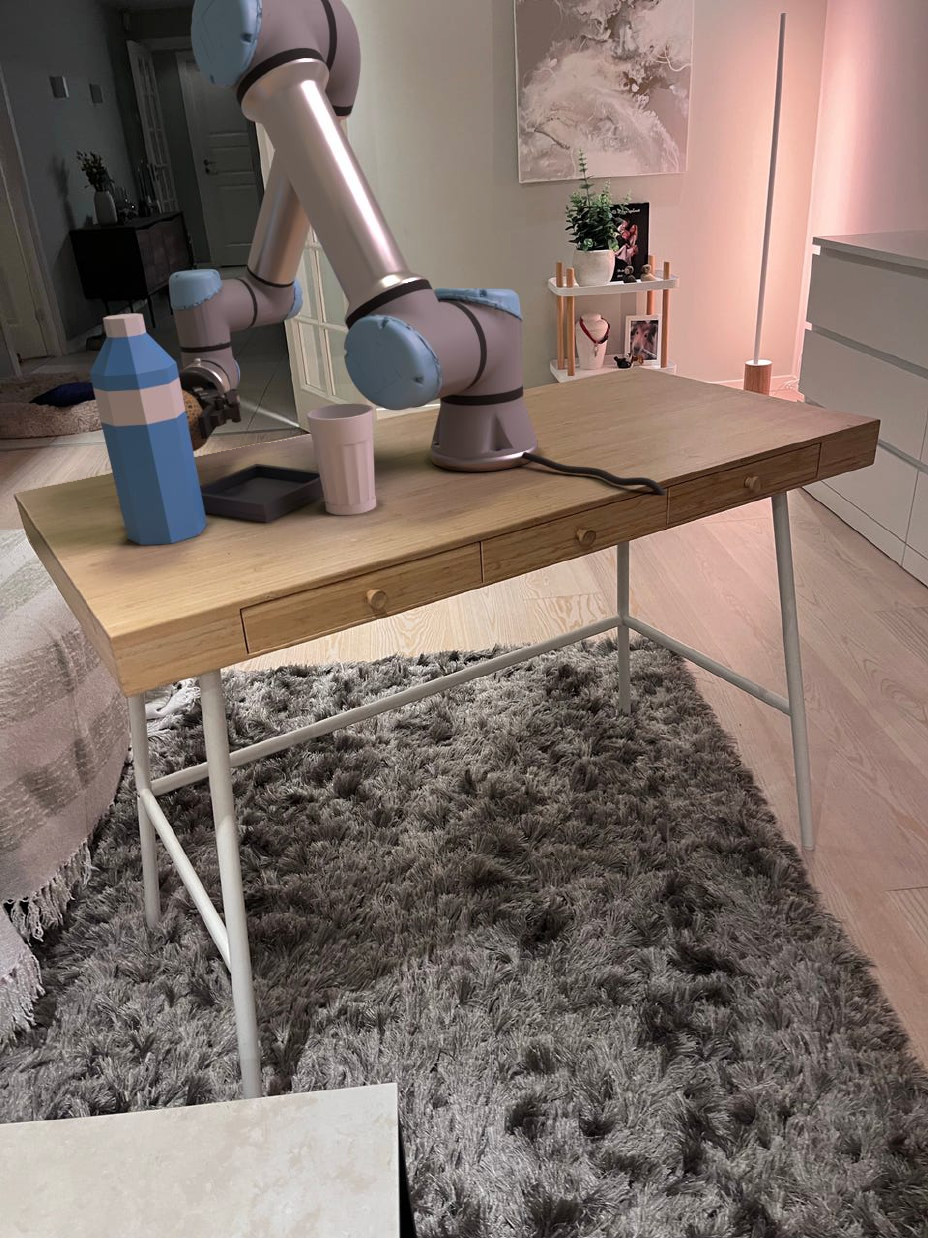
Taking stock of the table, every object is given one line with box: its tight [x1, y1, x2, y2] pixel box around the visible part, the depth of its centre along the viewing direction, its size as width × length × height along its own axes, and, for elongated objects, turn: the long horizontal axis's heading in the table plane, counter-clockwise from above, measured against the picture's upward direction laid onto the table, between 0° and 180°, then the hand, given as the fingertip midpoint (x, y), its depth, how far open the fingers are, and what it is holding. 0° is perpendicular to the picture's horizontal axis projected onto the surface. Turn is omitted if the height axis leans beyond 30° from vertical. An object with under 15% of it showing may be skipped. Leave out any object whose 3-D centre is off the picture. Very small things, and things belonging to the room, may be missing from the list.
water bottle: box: [89, 312, 208, 546], centre depth 108 cm, size 9×9×25 cm
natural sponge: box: [181, 389, 208, 453], centre depth 119 cm, size 9×9×10 cm
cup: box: [306, 403, 377, 516], centre depth 115 cm, size 8×8×12 cm
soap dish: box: [200, 463, 324, 524], centre depth 122 cm, size 14×14×2 cm
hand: (162, 431), depth 115 cm, fingers closed on natural sponge, 9 cm apart
